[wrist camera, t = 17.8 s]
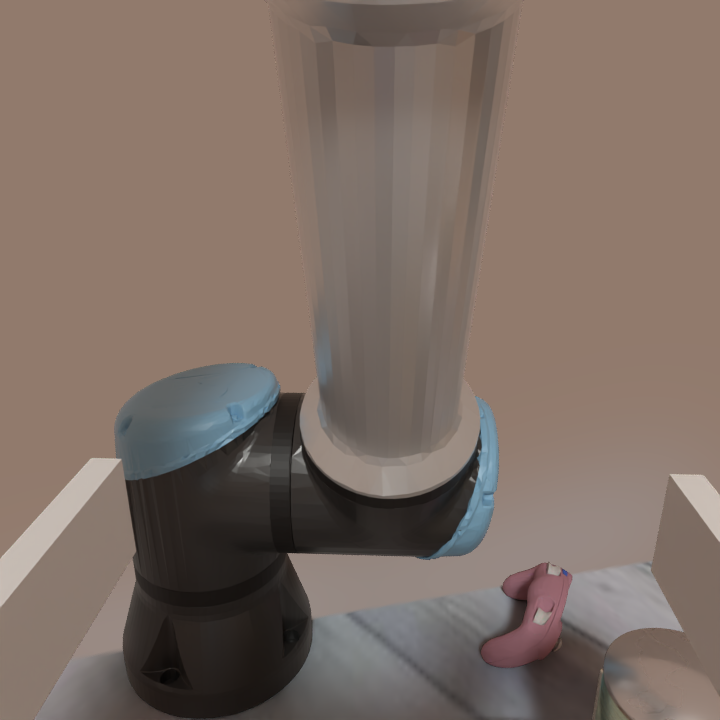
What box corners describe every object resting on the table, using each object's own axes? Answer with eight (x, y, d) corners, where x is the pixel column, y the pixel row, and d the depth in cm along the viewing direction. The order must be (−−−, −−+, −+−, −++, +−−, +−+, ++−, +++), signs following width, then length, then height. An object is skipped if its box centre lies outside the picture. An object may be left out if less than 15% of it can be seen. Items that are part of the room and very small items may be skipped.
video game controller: (523, 696, 50) (574, 647, 47) (473, 660, 51) (520, 609, 48) (543, 612, 59) (587, 565, 55) (499, 582, 60) (541, 534, 56)
